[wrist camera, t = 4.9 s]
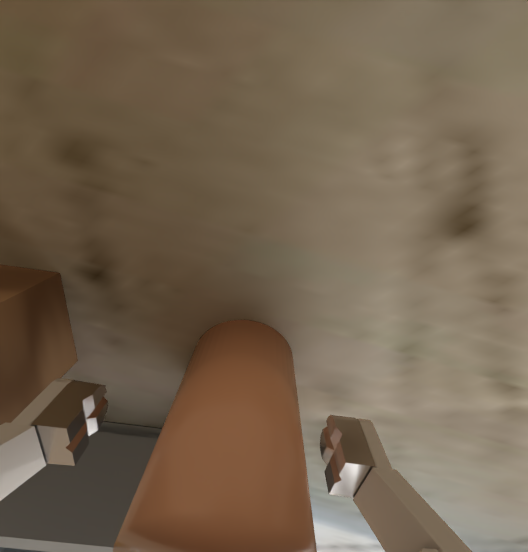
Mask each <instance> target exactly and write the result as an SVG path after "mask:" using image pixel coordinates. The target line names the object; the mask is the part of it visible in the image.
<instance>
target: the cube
mask: <svg viewBox="0 0 528 552" xmlns="http://www.w3.org/2000/svg"><path fill="white" fill-rule="evenodd" d="M77 361H78V359H77V354H76V350H75V345H74V340H73V335H72V330H71V325H70V320H69V315H68V310H67V305H66V300H65V295H64V291H63V286H62V281H61V276H60V273H57V272H50V271H43V270H36V269H29V268H22V267H15V266H8V265H1V264H0V425H2V424H3V423H5V422H7V423H11V422H12V421H13V420H14V419H15V418H16V417H17V416H18V415H19V414H20V413H21V412H22V411H23V410H24V409H25V408H26V407H27V406H28V405H29V404H30V403H31V402H32V401H33V400H34V399H35V398H36V397H37V396H38V395H39V394H40V393H41V392H42V391H43V390H44V389H45V388H46V387H47V386H48V385H49V384H50V383H51V382H52V381H54V380H56V379H58V378H61V377H62V376H63V375H64V374H65V373H66V372H67V371H68V370H69V369H70V368H71V367H72V366H73V365H74V364H75V363H76V362H77Z"/></svg>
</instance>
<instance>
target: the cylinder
mask: <svg viewBox="0 0 528 552" xmlns="http://www.w3.org/2000/svg"><path fill="white" fill-rule="evenodd" d="M113 552H317V550H316V542H315V534H314V526H313V518H312V510H311V502H310V494H309V485H308V477H307V469H306V461H305V453H304V445H303V437H302V429H301V421H300V412H299V404H298V396H297V388H296V380H295V372H294V364H293V356H292V351H291V348H290V346H289V344H288V343H287V341H286V340H285V338H284V337H283V336H282V335H281V334H280V333H278V332H277V331H276V330H274V329H273V328H271V327H269V326H267V325H265V324H262V323H259V322H255V321H250V320H233V321H227V322H223V323H221V324H218V325H216V326H214V327H212V328H211V329H209V330H208V331H207V332H206V333H205V334H204V335H203V336H202V337H201V338H200V340H199V341H198V343H197V345H196V348H195V350H194V353H193V355H192V357H191V360H190V362H189V365H188V367H187V369H186V372H185V374H184V377H183V379H182V382H181V384H180V386H179V389H178V391H177V394H176V396H175V399H174V401H173V403H172V406H171V408H170V411H169V413H168V415H167V418H166V420H165V423H164V425H163V428H162V430H161V432H160V435H159V437H158V440H157V442H156V445H155V447H154V449H153V452H152V454H151V457H150V459H149V461H148V464H147V466H146V469H145V471H144V474H143V476H142V478H141V481H140V483H139V486H138V488H137V490H136V493H135V495H134V498H133V500H132V503H131V505H130V507H129V510H128V512H127V515H126V517H125V520H124V522H123V524H122V527H121V529H120V532H119V534H118V536H117V539H116V541H115V544H114V548H113Z"/></svg>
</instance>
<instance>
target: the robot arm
mask: <svg viewBox="0 0 528 552" xmlns="http://www.w3.org/2000/svg"><path fill="white" fill-rule="evenodd" d="M105 393H106V386H105V385H101V384H95V383H88V382H82V381H76V380H69V379H62V378H58V379H56V380H54V381H52V382H51V383H50V384H49V385H48V386H47V387H46V388H45V389H44V390H43V391H42V392H41V393H40V394H39V395H38V396H37V397H36V398H35V399H34V400H33V401H32V402H31V403H30V404H29V405H28V406H27V407H26V408H25V409H24V410H23V411H22V412H21V413H20V414H19V415H18V416H17V417H16V418H15V419H14V420H13V421H12V422H11V423H7V422H5V423H3V424H2V425H0V501H1V500H2V499H3V498H5V497H6V496H7V495H9V494H10V493H11V492H12V491H14V490H15V489H16V488H18V487H19V486H20V485H21V484H23V483H24V482H25V481H27V480H28V479H29V478H31V477H32V476H33V475H34V474H36V473H37V472H38V471H40V470H41V469H42V468H43V467H45V466H46V463H47V464H59V465H72V466H75V465H76V463H77V462H78V460H79V459H80V457H81V456H82V454H83V453H84V451H85V450H86V448H87V446H88V445H89V436H90V435H92V434H93V433H94V432H96V431H97V430H98V429H99V428H100V426H101V424H102V423H103V421H104V418H105V416H106V413H107V409H108V401H107V400H106V399H105V398H104V397H103V396H104V395H105ZM326 422H327V427H325V428H324V429H323V430H322V433H321V437H320V450H321V456H322V459H323V460H324V461H325V463H326V464H327V467H326V470H325V477H326V482H327V487H328V492H329V495H336V496H343V497H350V498H353V501H354V502H355V504H356V505H357V507H358V508H359V510H360V512H361V513H362V515H363V516H364V518H365V520H366V521H367V523H368V524H369V526H370V528H371V529H372V531H373V532H374V534H375V536H376V537H377V539H378V540H379V542H380V543H381V545H382V547H383V548H384V550H385V551H386V552H472V551H471V550H470V549H469V548H468V547H467V546H466V545H465V543H464V542H463V541H462V540H461V539H460V538H459V537H458V536H457V535H456V534H455V533H454V532H453V531H452V529H451V528H450V527H449V526H448V525H447V524H446V523H445V522H444V521H443V520H442V519H441V518H440V517H439V515H438V514H437V513H436V512H435V511H434V510H433V509H432V508H431V507H430V506H429V505H428V504H427V503H426V501H425V500H424V499H423V498H422V497H421V496H420V495H419V494H418V493H417V492H416V491H415V490H414V488H413V487H412V486H411V485H410V484H409V483H408V482H407V481H406V480H405V479H404V478H403V477H402V476H401V474H400V473H399V472H398V471H397V470H393V469H392V468H391V465H390V463H389V460H388V458H387V456H386V453H385V451H384V449H383V446H382V444H381V442H380V439H379V437H378V435H377V432H376V430H375V427H374V425H373V423H372V422H371V421H370V420H365V419H356V418H352V417H343V416H335V415H330V416H329V417H328V419H327V421H326Z"/></svg>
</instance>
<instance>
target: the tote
mask: <svg viewBox="0 0 528 552" xmlns="http://www.w3.org/2000/svg"><path fill="white" fill-rule="evenodd" d="M161 430H162V429H159V428H151V427H143V426H135V425H126V424H118V423H110V422H103V423H102V424H101V426H100V428H99V429H98V430H97V431H96V432H94V433H93V434H92V435H90V436H89V445H88V446H87V448H86V450H85V451H84V453H83V454H82V456H81V457H80V459H79V460H78V462H77V463H76V465H75V466H72V465H59V464H47V463H46V466H45V467H43V468H42V469H41V470H40V471H38V472H37V473H36V474H34V475H33V476H32V477H31V478H29V479H28V480H27V481H25V482H24V483H23V484H21V485H20V486H19V487H18V488H16V489H15V490H14V491H12V492H11V493H10V494H9V495H7V496H6V497H5V498H3V499H2V500H1V501H0V552H113V548H114V544H115V541H116V539H117V536H118V534H119V532H120V529H121V527H122V524H123V522H124V520H125V517H126V515H127V512H128V510H129V507H130V505H131V503H132V500H133V498H134V495H135V493H136V490H137V488H138V486H139V483H140V481H141V478H142V476H143V474H144V471H145V469H146V466H147V464H148V461H149V459H150V457H151V454H152V452H153V449H154V447H155V445H156V442H157V440H158V437H159V435H160V432H161Z"/></svg>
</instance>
